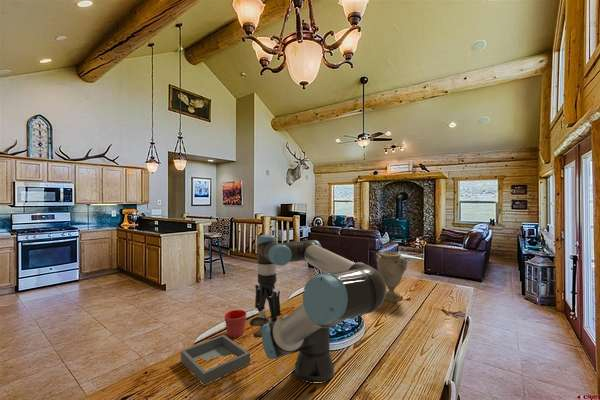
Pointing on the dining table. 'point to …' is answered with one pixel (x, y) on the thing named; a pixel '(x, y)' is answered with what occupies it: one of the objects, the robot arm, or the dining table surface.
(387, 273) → the urn
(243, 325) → the flower pot
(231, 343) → the tray
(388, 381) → the dining table surface
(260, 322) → the eagle figurine
